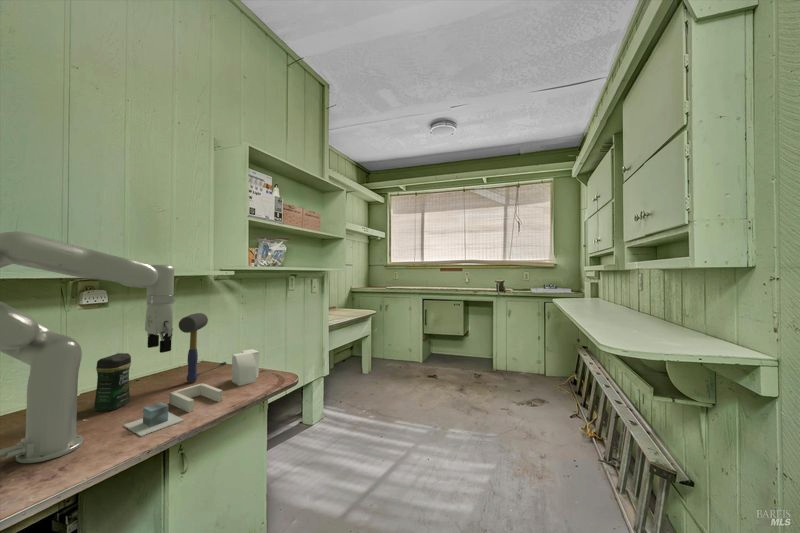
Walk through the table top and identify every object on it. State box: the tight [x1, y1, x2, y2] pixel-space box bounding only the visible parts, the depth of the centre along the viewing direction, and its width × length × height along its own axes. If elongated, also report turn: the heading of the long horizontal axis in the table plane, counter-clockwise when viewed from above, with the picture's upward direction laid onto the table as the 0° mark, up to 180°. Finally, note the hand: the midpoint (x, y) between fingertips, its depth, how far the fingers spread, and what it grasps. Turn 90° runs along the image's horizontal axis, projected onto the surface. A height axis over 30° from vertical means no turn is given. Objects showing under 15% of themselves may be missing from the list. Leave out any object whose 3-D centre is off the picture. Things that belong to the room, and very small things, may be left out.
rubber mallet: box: [178, 312, 209, 384], centre depth 141 cm, size 12×8×30 cm, turn 8°
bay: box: [168, 382, 223, 413], centre depth 121 cm, size 12×14×4 cm
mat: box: [123, 411, 185, 438], centre depth 104 cm, size 12×12×1 cm
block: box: [142, 401, 169, 427], centre depth 105 cm, size 5×5×5 cm
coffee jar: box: [93, 352, 132, 412], centre depth 116 cm, size 10×8×19 cm
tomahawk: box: [197, 361, 227, 377], centre depth 157 cm, size 21×7×1 cm, turn 165°
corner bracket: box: [231, 348, 260, 387], centre depth 146 cm, size 11×11×12 cm
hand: (159, 349), depth 111 cm, fingers open, 9 cm apart
